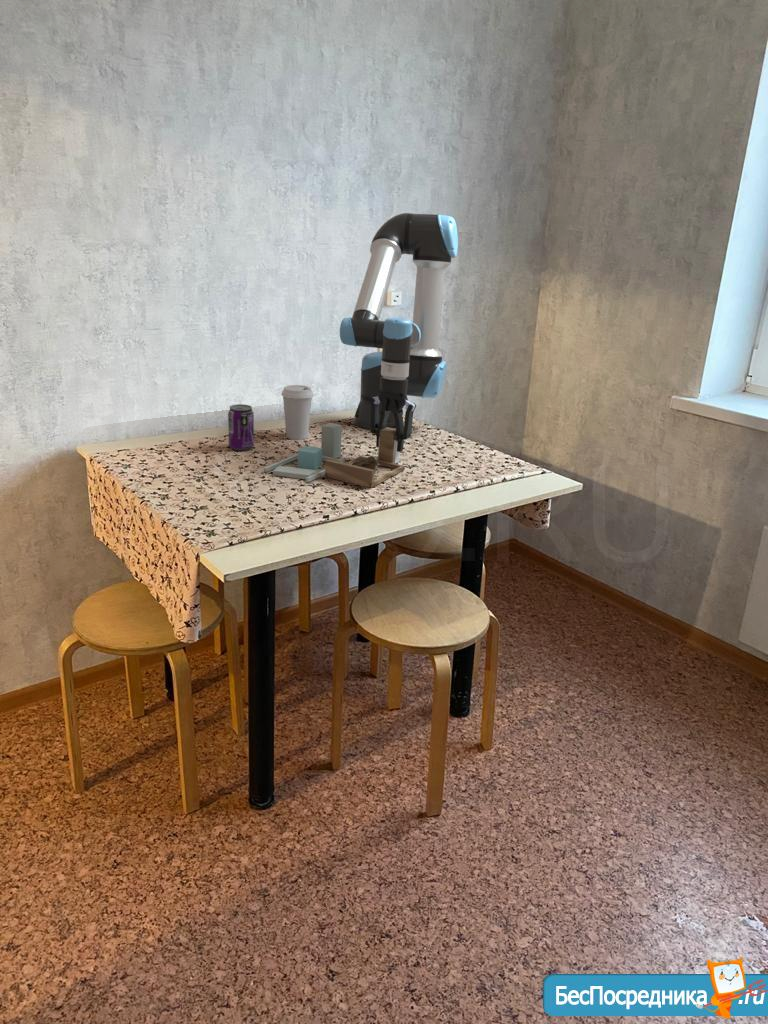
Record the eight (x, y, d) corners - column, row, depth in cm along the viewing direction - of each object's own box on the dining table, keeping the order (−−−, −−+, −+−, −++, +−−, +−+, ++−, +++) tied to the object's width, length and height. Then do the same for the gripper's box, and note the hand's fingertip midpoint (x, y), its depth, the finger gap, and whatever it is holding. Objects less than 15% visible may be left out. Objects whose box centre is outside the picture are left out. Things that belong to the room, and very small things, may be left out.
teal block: (305, 463, 212) (305, 445, 210) (322, 465, 210) (322, 448, 208) (297, 468, 207) (297, 450, 205) (314, 471, 206) (314, 453, 204)
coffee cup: (297, 443, 228) (298, 393, 222) (274, 436, 233) (274, 387, 228) (319, 436, 235) (320, 388, 229) (296, 430, 240) (296, 382, 235)
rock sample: (362, 452, 210) (365, 439, 201) (378, 474, 208) (382, 462, 200) (330, 472, 207) (332, 459, 198) (347, 494, 205) (350, 483, 197)
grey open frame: (314, 450, 222) (314, 419, 218) (356, 459, 216) (357, 428, 212) (264, 471, 203) (263, 438, 199) (308, 482, 196) (308, 448, 193)
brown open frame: (370, 454, 220) (371, 424, 217) (413, 464, 214) (415, 432, 211) (324, 476, 201) (325, 443, 198) (371, 487, 195) (372, 453, 192)
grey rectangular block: (279, 469, 205) (279, 465, 204) (315, 474, 203) (315, 470, 202) (273, 475, 201) (273, 470, 200) (309, 479, 199) (309, 475, 198)
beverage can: (251, 452, 218) (251, 410, 213) (226, 450, 218) (225, 409, 213) (256, 444, 224) (255, 404, 220) (231, 443, 224) (230, 403, 220)
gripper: (360, 374, 208) (355, 457, 216) (416, 383, 201) (409, 469, 209) (373, 371, 215) (369, 452, 223) (429, 380, 207) (421, 463, 215)
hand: (388, 460), depth 216 cm, fingers open, 4 cm apart
